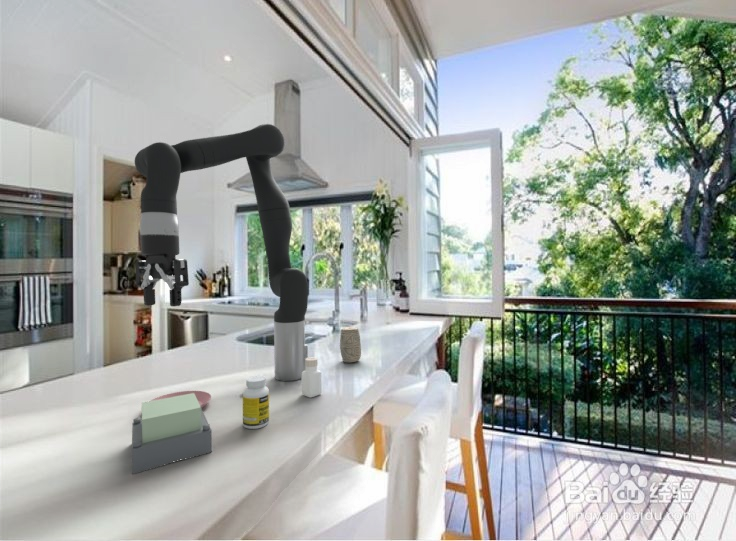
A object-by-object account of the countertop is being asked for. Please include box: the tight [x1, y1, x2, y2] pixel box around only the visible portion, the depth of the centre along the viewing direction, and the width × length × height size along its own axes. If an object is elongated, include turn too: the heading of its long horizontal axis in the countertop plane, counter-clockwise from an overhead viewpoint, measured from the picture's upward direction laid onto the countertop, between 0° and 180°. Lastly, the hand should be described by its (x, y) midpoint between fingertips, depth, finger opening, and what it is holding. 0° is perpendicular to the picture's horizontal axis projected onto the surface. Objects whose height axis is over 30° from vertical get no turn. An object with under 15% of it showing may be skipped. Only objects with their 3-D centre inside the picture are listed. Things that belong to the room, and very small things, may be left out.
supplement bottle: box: [242, 375, 270, 430], centre depth 75 cm, size 5×5×10 cm
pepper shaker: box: [301, 356, 323, 399], centre depth 92 cm, size 4×4×10 cm
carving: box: [339, 326, 362, 364], centre depth 124 cm, size 6×8×12 cm
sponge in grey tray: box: [131, 393, 213, 475], centre depth 65 cm, size 12×12×8 cm
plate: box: [150, 390, 212, 410], centre depth 83 cm, size 14×14×2 cm
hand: (162, 305), depth 79 cm, fingers open, 8 cm apart
